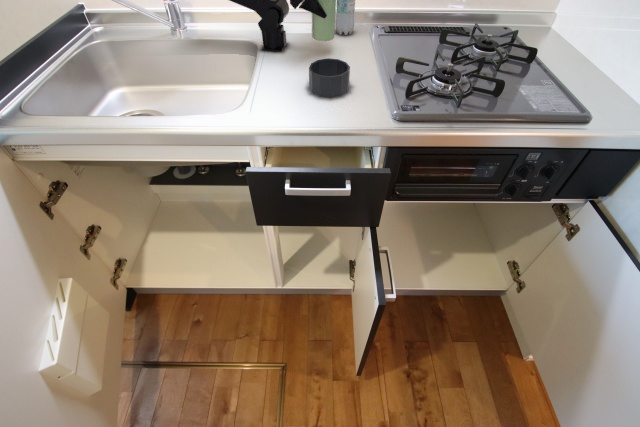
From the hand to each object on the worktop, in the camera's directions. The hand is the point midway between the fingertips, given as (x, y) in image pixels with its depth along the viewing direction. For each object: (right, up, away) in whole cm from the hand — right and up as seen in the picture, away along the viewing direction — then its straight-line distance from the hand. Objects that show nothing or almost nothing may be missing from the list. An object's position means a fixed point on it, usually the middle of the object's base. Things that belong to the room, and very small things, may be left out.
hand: (328, 12), depth 96 cm
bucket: (0, -24, -7) cm, 25 cm away
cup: (-1, -4, +5) cm, 7 cm away
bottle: (+6, +4, +18) cm, 20 cm away
